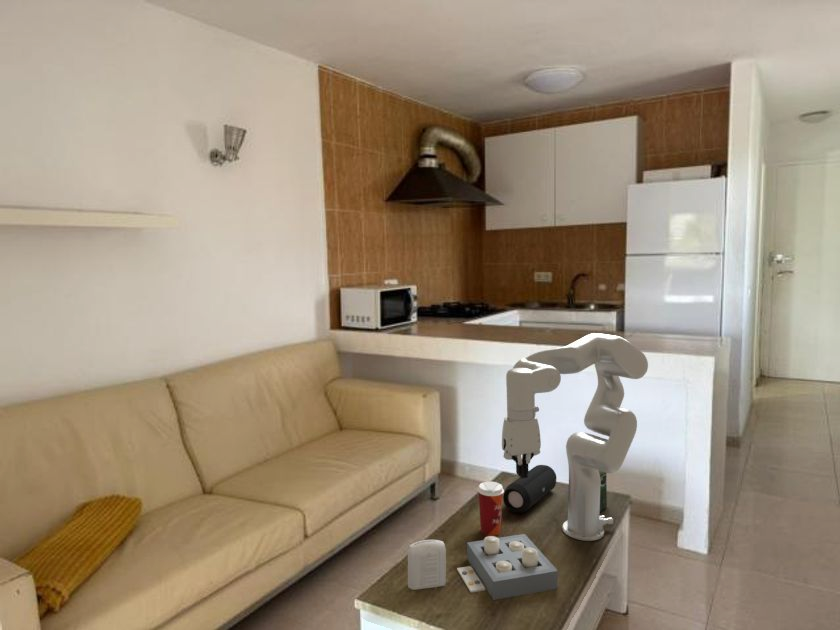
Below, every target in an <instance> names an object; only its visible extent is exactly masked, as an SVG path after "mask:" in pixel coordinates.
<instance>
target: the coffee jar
mask: <svg viewBox="0 0 840 630" xmlns="http://www.w3.org/2000/svg"><path fill="white" fill-rule="evenodd" d="M598 471H599V470H598ZM599 474H600V479H601V486H600V512H601V511H602V510H604V509H605V508H606V507H607V505H608V495H607V494H608V490H607V487H608V485H607V477H608V476H607V474H608V473H605V472H602V471H599Z"/></svg>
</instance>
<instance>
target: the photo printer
mask: <svg viewBox="0 0 840 630" xmlns="http://www.w3.org/2000/svg"><path fill="white" fill-rule="evenodd" d="M446 553H447V550H446V545H445V543H444V541H442V540H438V539H424V540H419V541H416V542H413V543H412V544H411V543H410V544H409V545H408V551H407V587H408V589H410V590H414V591H417V590H423V589H424V590H425V589H431V588H440V587H444V586H445V585H446V578H447V577H446V573H447V571H446V569H447V567H446V566H447V564H446V563H447V562H446V561H447V558H446V557H447V554H446Z"/></svg>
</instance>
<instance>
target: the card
mask: <svg viewBox="0 0 840 630" xmlns="http://www.w3.org/2000/svg"><path fill="white" fill-rule="evenodd" d="M457 572H458V574H459V575H460V577H461V579H462V581H463V582H464V584H465V585H466V587H467V589H468V590H469V592H470V593H477V592H482V591H484V592H485V591H486V588H485V586H484V585H483V583H482V581H481V580H480V578H479V577H478V575H477V574H476V572H475V571H474V569H473V567H472V566H471V565H468V566H463V567H462V566H461V567H457Z"/></svg>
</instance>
